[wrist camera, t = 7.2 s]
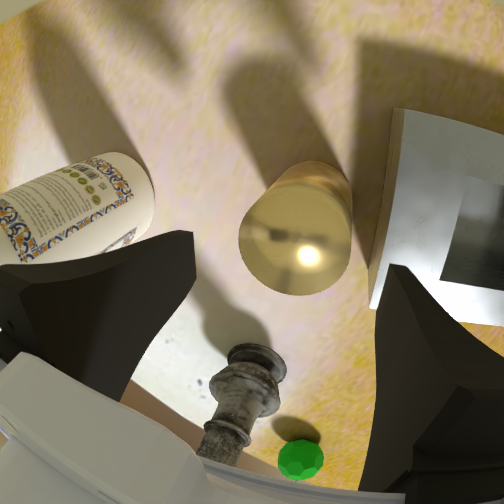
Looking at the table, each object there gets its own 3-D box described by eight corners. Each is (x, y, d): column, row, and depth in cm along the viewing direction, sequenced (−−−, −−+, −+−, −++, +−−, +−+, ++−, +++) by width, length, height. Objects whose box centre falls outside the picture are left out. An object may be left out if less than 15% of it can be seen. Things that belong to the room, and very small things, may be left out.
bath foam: (86, 148, 21) (-145, 269, 4) (157, 152, 20) (-140, 326, 3) (94, 228, 24) (-91, 373, 8) (160, 244, 23) (-47, 447, 6)
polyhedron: (306, 427, 28) (296, 465, 24) (335, 445, 29) (328, 482, 25) (274, 437, 31) (263, 472, 27) (303, 454, 32) (294, 487, 28)
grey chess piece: (256, 330, 24) (192, 464, 14) (304, 374, 25) (265, 504, 15) (211, 355, 27) (147, 465, 17) (256, 393, 28) (210, 502, 18)
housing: (558, 157, 11) (593, 174, 8) (517, 294, 16) (537, 329, 12) (392, 107, 14) (404, 108, 11) (367, 270, 19) (368, 308, 16)
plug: (357, 166, 16) (359, 201, 11) (346, 240, 19) (340, 303, 13) (276, 156, 18) (239, 185, 12) (273, 229, 20) (238, 284, 14)
